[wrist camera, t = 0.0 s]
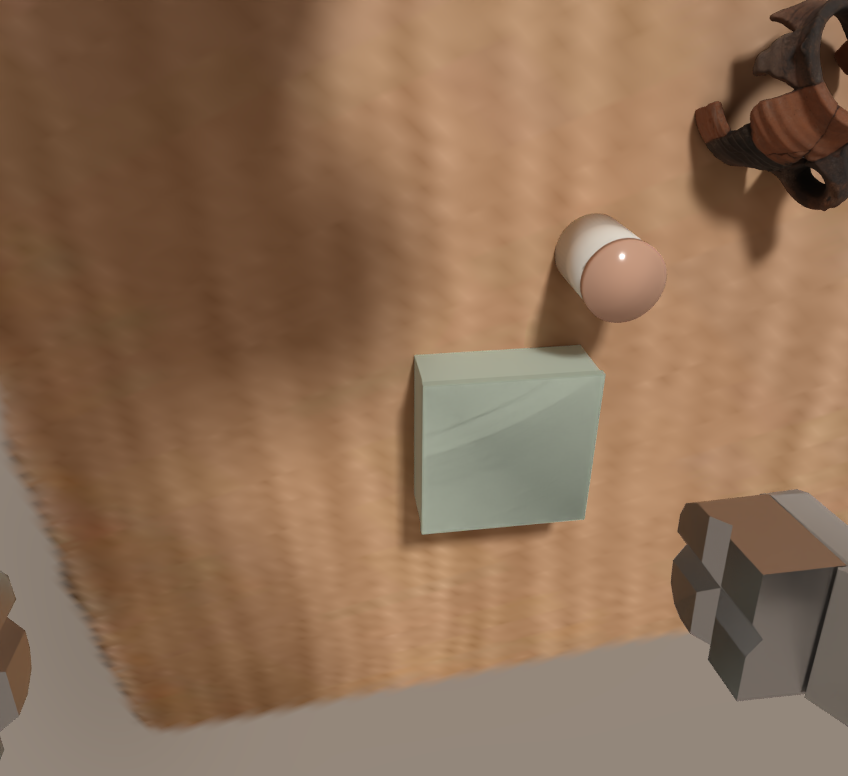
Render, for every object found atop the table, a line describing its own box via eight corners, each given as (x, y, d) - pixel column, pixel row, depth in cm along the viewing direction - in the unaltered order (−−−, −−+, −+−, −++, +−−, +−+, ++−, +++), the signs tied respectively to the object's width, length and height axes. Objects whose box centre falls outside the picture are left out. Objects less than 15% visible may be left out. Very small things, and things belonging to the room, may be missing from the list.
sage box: (412, 351, 52) (423, 386, 48) (580, 341, 54) (605, 374, 49) (412, 492, 58) (421, 534, 54) (563, 479, 59) (584, 519, 55)
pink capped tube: (557, 213, 48) (588, 243, 43) (633, 210, 49) (673, 239, 44) (550, 288, 51) (579, 325, 46) (622, 284, 51) (659, 320, 46)
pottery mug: (661, 75, 46) (775, 18, 38) (756, 14, 49) (878, -50, 41) (738, 247, 49) (858, 226, 41) (823, 179, 52) (949, 148, 44)
